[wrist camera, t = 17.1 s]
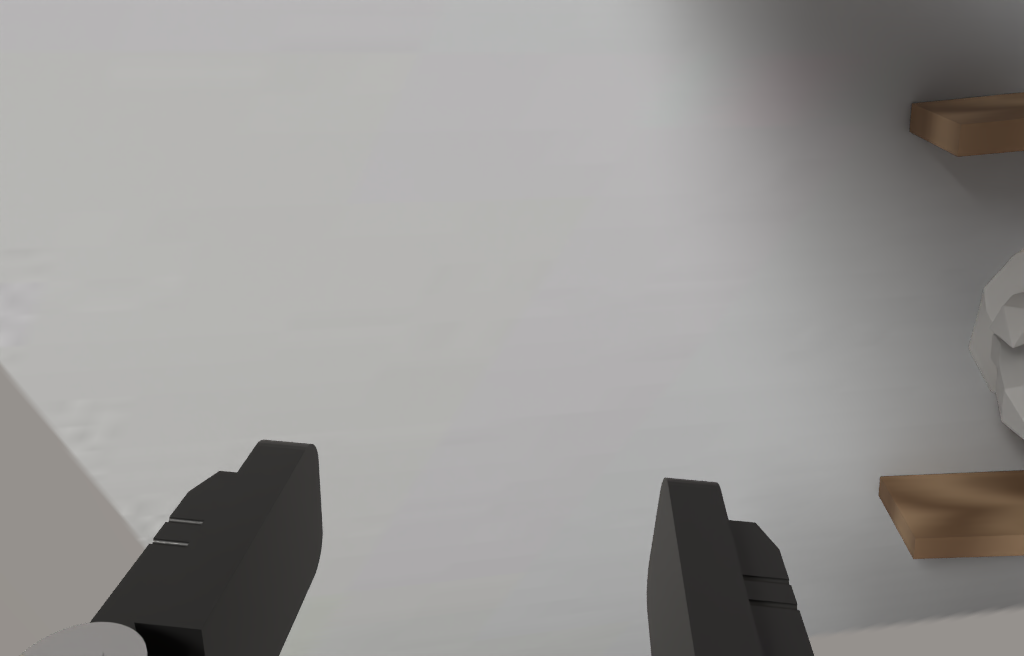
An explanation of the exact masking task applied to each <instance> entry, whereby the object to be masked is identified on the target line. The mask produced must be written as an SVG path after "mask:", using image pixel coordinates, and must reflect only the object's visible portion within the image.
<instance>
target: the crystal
mask: <svg viewBox="0 0 1024 656" xmlns="http://www.w3.org/2000/svg"><path fill="white" fill-rule="evenodd" d="M969 351H970V353H971V355H972V356H973V358H974V360H975V362H976V364H977V366H978V368H979V370H980V372H981V374H982V376H983V378H984V379H985V381H986V383H987V385H988V387H989V389H990V391H991V392H994V393H996V396H997V401H998V406H999V411H1000V416H1001V422H1003V423H1004V424H1005V425H1006V426H1007V427H1009V428H1010V429H1011V430H1012V431H1014V432H1015V433H1016V434H1017V435H1019V436H1020V437H1021V438H1022V439H1023V440H1024V249H1023V250H1021V251H1020V252H1018V253H1017V254H1015V255H1013V256H1012V258H1011V259H1010V260H1009V261H1008V262H1007V263H1006V264H1005V265H1004V266H1003V268H1002V269H1001V270H1000V271H999V272H998V273H997V274H996V275H995V276H994V278H993V279H992V280H991V281H990V282H989V283H988V284H987V285H986V286H985V287H984V289H983V294H982V298H981V302H980V306H979V310H978V314H977V317H976V321H975V325H974V328H973V332H972V336H971V339H970V343H969Z"/></svg>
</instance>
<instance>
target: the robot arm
mask: <svg viewBox="0 0 1024 656" xmlns="http://www.w3.org/2000/svg"><path fill="white" fill-rule="evenodd" d="M322 535H323V530H322V512H321V494H320V477H319V460H318V453H317V449H316V447H315V445H313V444H305V443H294V442H283V441H272V440H261V441H260V442H258V443H257V445H256V446H255V447H254V449H253V450H252V452H251V453H250V455H249V456H248V458H247V459H246V461H245V462H244V463H243V465H242V466H241V468H240V469H239V471H238V472H237V473H236V472H225V471H219V472H217V473H216V474H214V475H213V476H211V477H210V478H208V479H207V480H205V481H204V482H202V483H201V484H199V485H198V486H196V487H195V488H193V489H192V490H190V491H189V492H188V493H187V495H186V496H185V497H184V499H183V500H182V501H181V503H180V504H179V505H178V507H177V508H176V509H175V510H174V512H173V513H172V514H171V516H170V519H169V522H165V524H164V525H163V526H162V528H161V529H160V530H159V532H158V533H157V534H156V536H155V537H154V540H153V544H149V545H148V546H147V548H146V549H145V550H144V552H143V553H142V554H141V556H140V557H139V558H138V560H137V561H136V562H135V563H134V565H133V566H132V567H131V569H130V570H129V571H128V573H127V574H126V575H125V577H124V578H123V579H122V581H121V582H120V583H119V585H118V586H117V587H116V589H115V590H114V591H113V593H112V594H111V595H110V597H109V598H108V599H107V601H106V602H105V603H104V605H103V606H102V607H101V609H100V610H99V611H98V613H97V614H96V615H95V617H94V618H93V619H92V621H91V622H90V623H85V624H80V625H75V626H72V627H69V628H66V629H63V630H61V631H58V632H55V633H53V634H51V635H49V636H47V637H45V638H43V639H42V640H40V641H38V642H37V643H35V644H34V645H32V646H31V647H29V648H28V649H27V650H26V651H24V652H23V653H22V654H21V655H20V656H279V654H280V652H281V650H282V648H283V645H284V643H285V641H286V639H287V636H288V634H289V632H290V630H291V627H292V625H293V623H294V621H295V618H296V616H297V614H298V612H299V609H300V607H301V605H302V603H303V600H304V598H305V596H306V594H307V591H308V589H309V587H310V585H311V582H312V580H313V578H314V576H315V573H316V570H317V567H318V563H319V559H320V554H321V547H322ZM647 612H648V623H649V633H650V644H651V655H652V656H814V654H813V651H812V648H811V645H810V641H809V638H808V635H807V632H806V629H805V626H804V623H803V620H802V617H801V614H800V611H799V610H797V602H796V599H795V596H794V593H793V590H792V587H791V585H789V578H788V575H787V571H786V568H785V565H784V562H783V559H782V556H781V553H780V550H779V549H778V548H777V546H776V545H775V544H774V543H773V542H772V541H771V540H770V539H769V537H768V536H767V535H766V534H765V533H764V532H763V531H762V530H761V528H760V527H759V526H758V525H757V524H756V523H753V522H742V521H732V520H728V516H727V512H726V508H725V505H724V501H723V497H722V493H721V489H720V486H719V484H718V483H717V482H707V481H696V480H685V479H674V478H664V479H663V482H662V486H661V491H660V497H659V503H658V509H657V516H656V522H655V528H654V535H653V541H652V547H651V554H650V560H649V568H648V579H647Z"/></svg>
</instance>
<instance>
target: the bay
mask: <svg viewBox="0 0 1024 656" xmlns="http://www.w3.org/2000/svg"><path fill="white" fill-rule="evenodd" d="M909 132H911V133H913V134H915V135H917V136H919V137H921V138H923V139H925V140H927V141H928V142H930V143H932V144H934V145H936V146H938V147H940V148H942V149H944V150H946V151H948V152H950V153H952V154H953V155H955V156H957V157H960V156H971V155H982V154H993V153H1004V152H1015V151H1024V92H1022V93H1012V94H1002V95H992V96H982V97H972V98H962V99H952V100H942V101H932V102H921V103H912V108H911V120H910V131H909ZM879 497H880V499H881V501H882V502H883V504H884V506H885V508H886V510H887V512H888V513H889V515H890V517H891V519H892V521H893V523H894V524H895V526H896V528H897V530H898V532H899V533H900V535H901V537H902V539H903V541H904V543H905V544H906V546H907V548H908V550H909V552H910V554H911V555H912V557H913V559H925V558H957V557H989V556H1020V555H1024V470H1020V471H997V472H975V473H952V474H929V475H907V476H884V477H880V486H879Z"/></svg>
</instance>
